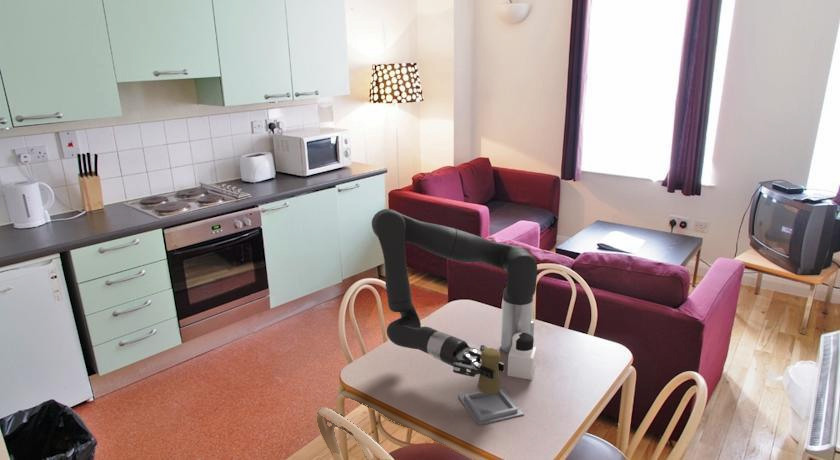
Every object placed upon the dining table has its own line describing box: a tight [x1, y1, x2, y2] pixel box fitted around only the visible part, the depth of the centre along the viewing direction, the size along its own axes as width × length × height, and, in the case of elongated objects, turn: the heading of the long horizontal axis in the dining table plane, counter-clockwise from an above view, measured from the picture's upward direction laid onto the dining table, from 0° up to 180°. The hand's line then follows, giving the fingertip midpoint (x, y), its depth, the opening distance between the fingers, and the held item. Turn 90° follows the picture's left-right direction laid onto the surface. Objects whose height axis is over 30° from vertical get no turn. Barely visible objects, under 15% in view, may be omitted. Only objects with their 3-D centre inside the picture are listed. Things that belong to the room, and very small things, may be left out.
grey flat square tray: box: [458, 386, 525, 427], centre depth 148 cm, size 13×13×1 cm
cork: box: [477, 347, 502, 394], centre depth 145 cm, size 6×6×11 cm
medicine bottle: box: [507, 333, 537, 381], centre depth 162 cm, size 7×7×12 cm
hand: (498, 371), depth 143 cm, fingers closed on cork, 4 cm apart
